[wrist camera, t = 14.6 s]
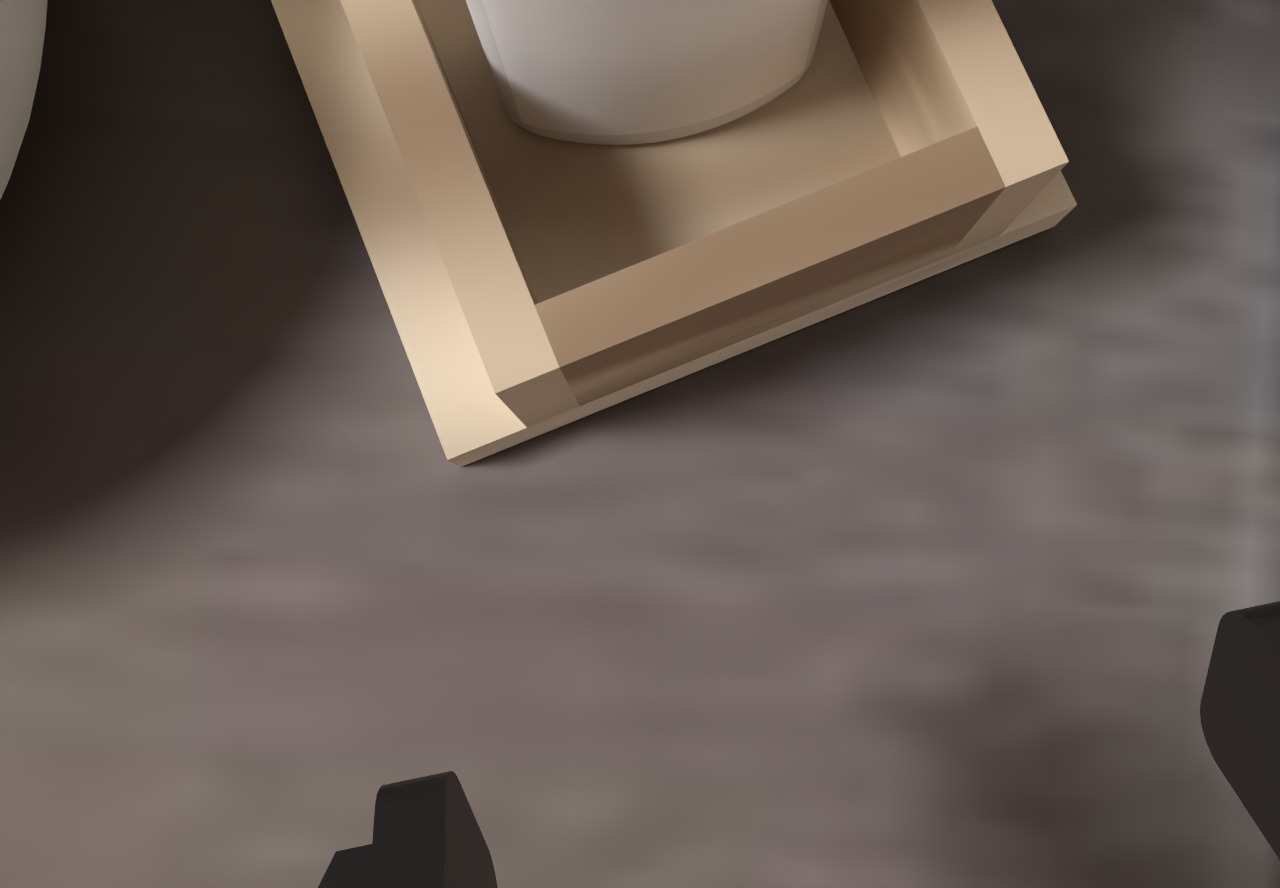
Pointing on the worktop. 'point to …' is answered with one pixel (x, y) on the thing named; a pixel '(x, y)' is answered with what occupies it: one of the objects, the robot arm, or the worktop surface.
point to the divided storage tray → (661, 202)
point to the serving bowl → (18, 74)
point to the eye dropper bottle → (642, 63)
